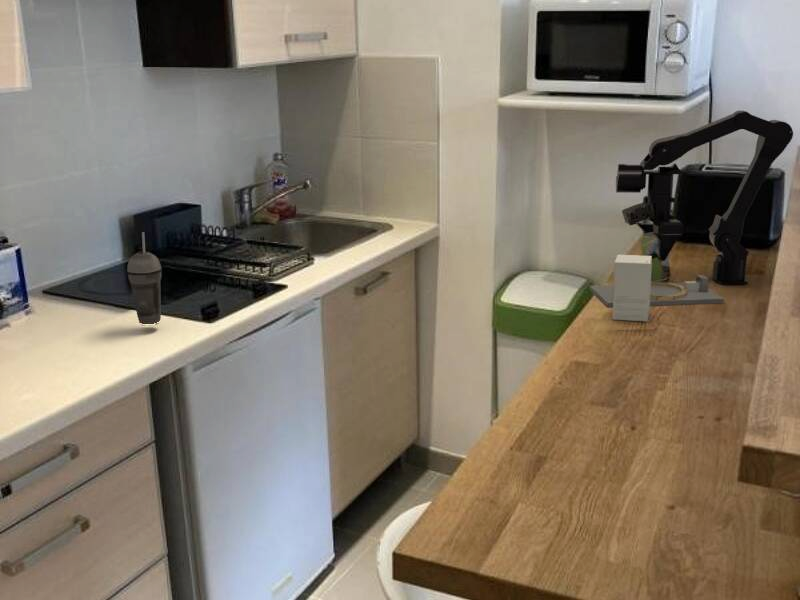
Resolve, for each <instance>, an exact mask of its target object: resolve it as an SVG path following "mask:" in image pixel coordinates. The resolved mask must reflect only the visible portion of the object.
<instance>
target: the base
mask: <svg viewBox="0 0 800 600" xmlns="http://www.w3.org/2000/svg"><path fill="white" fill-rule="evenodd" d="M672 283H673V284H678V285H681V286H683V287H684V281H682V282H672ZM613 286H614V284H601V285H598V284H597V285H589V291H590V292H591V293H592V294H593V295H594V296H595V297H597V299H598V300H599V301H600V302H601V303H603V305H605V307H607V308H613ZM678 293H681V291H679V290H678V289H674V288H670V287H666V286H656V285H651V289H650V295H654V296H666V295H674V294H678ZM706 304H724V297H722V296H721V295H719V294H717V293H715V292H714V291H712V290H711V289H709V288H708V292H687V295H686V296H685V297H683V298H679V299H675V300H650V307H652V306H653V307H654V306H677V305H682V306H683V305H706Z"/></svg>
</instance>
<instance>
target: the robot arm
mask: <svg viewBox="0 0 800 600" xmlns="http://www.w3.org/2000/svg"><path fill="white" fill-rule="evenodd" d="M739 130H745V131H747V132H749V133H752V134H754V135H757V136H758V137H757V140H756V143H755V144H756V145H755V152H754V155H753V157H752V160H751V162H750V164H749V166H748V167H747V170H746V172H745V174H744V177H743V178H742V180H741V182H740V184H739V187H738V188H737V190H736V193H735V195H734V196H733V198H732V201H731V203H730V205H729V207H728V209H727V210H726V211H725V212H724V214H723V215H722V216H720V215H718V214H716V215H715V216H714V219H713V223H712V224H711V226H710V227H709V228H708V230H709V237H708V238H709V241H710V243H711V244H712V245H713V246H714V247H715V249H716V250H717V252H718V253H719V254H716V255H715V261H713V265H712V268H713V269H712V275H710V276H711V279H712V280H714V281H716V282H717V283H719V284H721V285H734V284H735V285H737V284H742V285H743V284H749V281H748V280H746V274H747V273H746V272H747V271H746V270H747V260H748V255H749V250H747V248H745V247H744V246H743V245H742V244H741V243H740V241H741V238H742V235H743V233H744V232H743V231H744V224H745V219H746V216H747V215H748V213H749V210H750V208H751V207H752V204H753V203H754V200H755V199H756V196H757V194H758V192H759V191H760V188H761V186H762V184H763V182H764V181H765V178H766V177H767V175H768V172H769V171H770V169H771V167H772V164H773V163H774V161H776V160H777V159H778V158H779V156H780V155H782V153H783V152H784V151H785V149H786V148H787V147H788V146H789V143H791V141H792V140H793V137H794V130H793V128H792V126H791V125H790V124H789V123H787V122H785V121H782V120H778V119H772V120H766V119H765V118H764V119H763V118H761V117H758V116H756V115H753V114H751V113H750V112H748V111H745V110H742V109H741V110H739V109H738V110H736V111H734V112H733V113H731V114H729V115H727V116H724V117H722V118H720V119H717V120H714V121H711V122H710V123H708V124H705V125H702V126H700V127H698V128H695V129H693V130H691V131H688V132H684V133H681V134H676V135H675V134H674V135H670V136H666V137H661V138H657V139H656V140H654V141H652V143H650V146H649V148H648V153H647V154H646V156H645V157H644V158H643V159H641V162H640V163H639V164H627V163H626V164H625V163H618V164H617V171H616V176H615V192H616V194H617V193H625V194H626V193H628V194H629V193H631V194H632V193H633V194H634V193H636V194H637V193H639V194H640V193H641V191H643V190H644V189H646V186H647V195H644V197H643V199H642V202H641V203H637V204H634V205H632V206H629V207H626V208H624V209H622V211H621V213H622V216H623V219H624V222H625V224H628V225H629V226H633V225H636V226H637V227H638V228H639V229H641V231H642V235H643V234H645V233H649V232H655V233H653V234H654V235H655V236H656V238H657V239H658V243H659V255H660V260H661V261H665V260H666V258H667V256H668V255H669V254H670V252H671V251H672V249H673V247H674V246H675V244H676V242H677V241H678V239H679V237H681V236H682V235H684V234H685V225H684V223H683V222H682V221H680V220H678V219H676V218H675V215H674V214H672V204H673V203H675V202H676V198H675V197H673V189H674V175H683V171H682V169H680V168H679V167H678V164H677V163H674V162H675V161H677V160H679V159H680V158H682V157H683V156H685V155H686V154H687V153H689V152H690V151H691V150H694V149H696V148H698V147H700V146H701V147H702V146H703V145H706V144H709V143H710V142H712V141H715V140H718V139H721V138H723V137H725V136H727V135H730V134H732V133H735V132H738V131H739ZM670 164H672V165H671V166H668V165H670ZM655 169H657V170H655ZM647 176H648V177H647ZM647 180H648V181H647ZM646 184H647V185H646Z"/></svg>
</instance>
